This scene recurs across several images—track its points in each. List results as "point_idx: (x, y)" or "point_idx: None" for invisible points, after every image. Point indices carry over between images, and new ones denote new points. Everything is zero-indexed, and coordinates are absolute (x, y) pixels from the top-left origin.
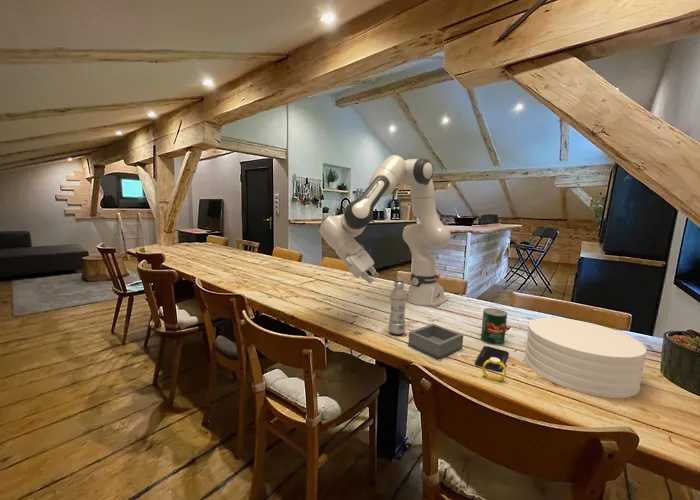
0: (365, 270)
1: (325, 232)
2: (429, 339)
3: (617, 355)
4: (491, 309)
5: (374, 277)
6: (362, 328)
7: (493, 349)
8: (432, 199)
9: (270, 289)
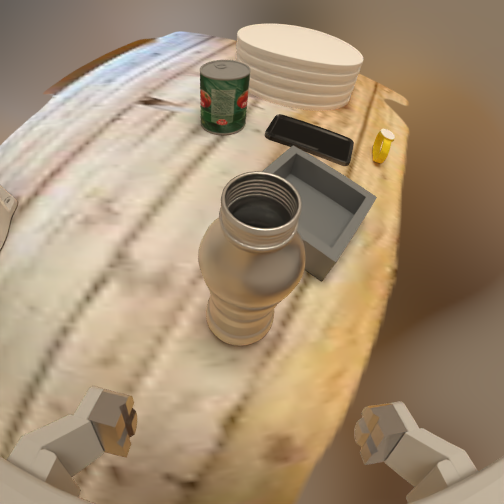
0: (490, 467)
1: None
2: (359, 213)
3: (353, 48)
4: (204, 71)
5: (133, 431)
6: (231, 442)
7: (275, 127)
8: None
9: None
